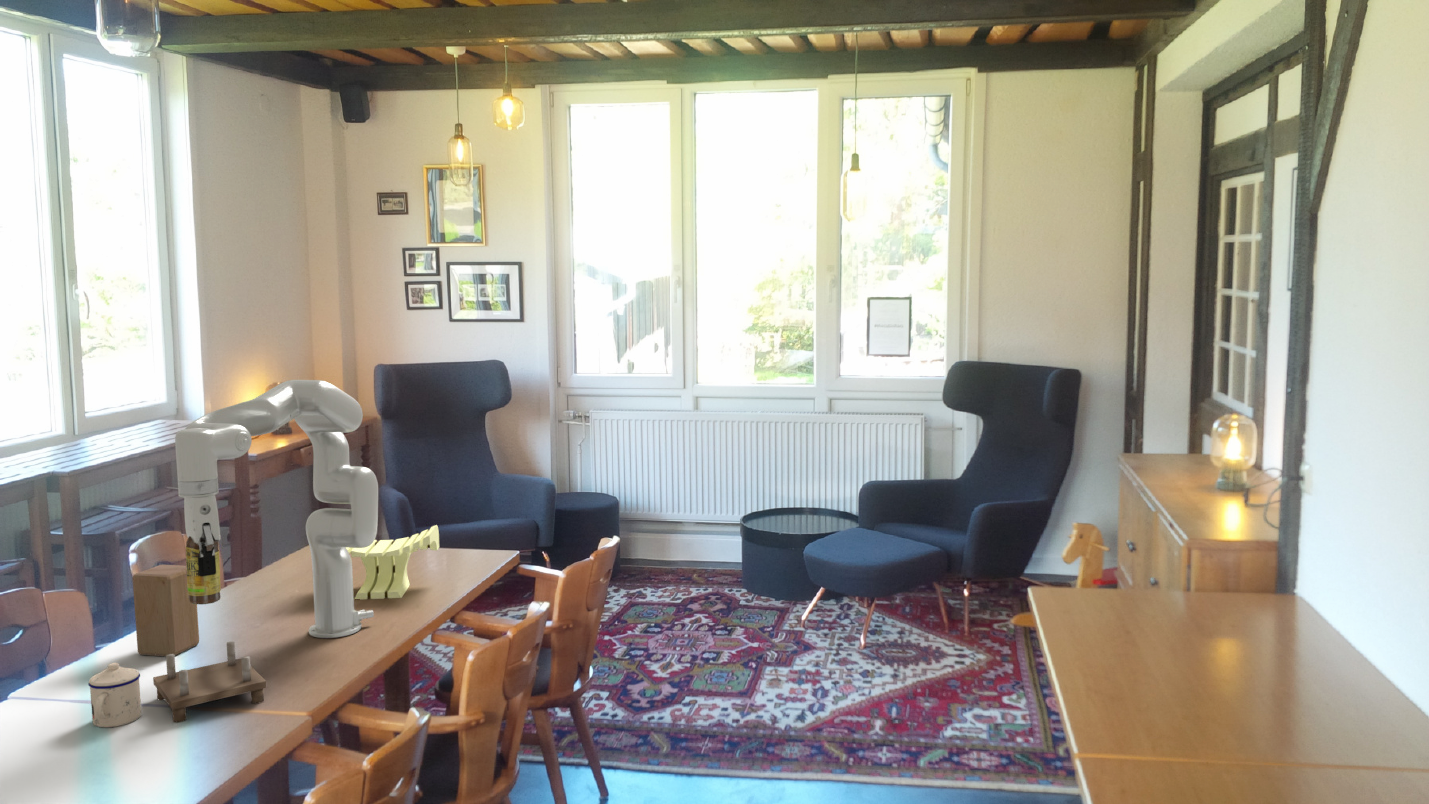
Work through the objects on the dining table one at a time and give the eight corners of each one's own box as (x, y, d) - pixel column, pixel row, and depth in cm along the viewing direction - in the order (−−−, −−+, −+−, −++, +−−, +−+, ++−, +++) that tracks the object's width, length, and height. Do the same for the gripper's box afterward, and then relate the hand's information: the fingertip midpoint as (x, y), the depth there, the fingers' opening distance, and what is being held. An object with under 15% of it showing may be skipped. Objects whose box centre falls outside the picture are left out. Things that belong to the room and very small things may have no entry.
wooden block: (172, 658, 246) (167, 576, 243) (136, 655, 248) (130, 574, 245) (201, 644, 255) (196, 565, 253) (166, 641, 257) (160, 563, 255)
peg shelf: (243, 677, 233) (241, 636, 232) (267, 701, 219) (264, 658, 218) (154, 697, 222) (151, 654, 221) (173, 724, 208) (170, 678, 207)
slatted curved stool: (440, 580, 309) (438, 522, 307) (432, 596, 294) (429, 534, 292) (336, 584, 306) (333, 525, 304) (322, 600, 290) (319, 538, 288)
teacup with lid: (104, 711, 215) (100, 657, 214) (150, 709, 216) (146, 655, 214) (75, 736, 203) (70, 678, 202) (124, 733, 204) (119, 676, 203)
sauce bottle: (182, 603, 218) (176, 510, 216) (210, 595, 223) (204, 504, 221) (200, 607, 215) (193, 513, 213) (228, 599, 220) (222, 507, 218)
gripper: (228, 491, 212) (233, 577, 214) (207, 479, 225) (212, 560, 227) (188, 496, 207) (193, 583, 209) (169, 484, 221) (174, 566, 223)
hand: (203, 570), depth 218 cm, fingers closed on sauce bottle, 6 cm apart
